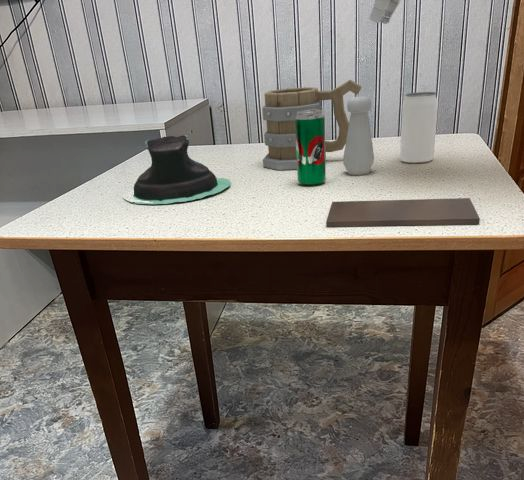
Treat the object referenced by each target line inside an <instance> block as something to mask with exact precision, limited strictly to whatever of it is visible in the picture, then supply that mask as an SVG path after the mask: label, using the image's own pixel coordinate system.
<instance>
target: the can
mask: <svg viewBox="0 0 524 480" xmlns="http://www.w3.org/2000/svg"><path fill="white" fill-rule="evenodd" d="M438 108H439V101H438V98H437V92H435V91H418V92H417V91H416V92H409V93H406V94H405V98H404V100H403V102H402V107H401V125H400V127H401V128H400V151H399V160H400V161H401V162H402V163H405V164H425V163H430V162H432V160H433V159H434V157H435V149H436V148H435V146H436V135H437V134H436V133H437V122H438Z"/></svg>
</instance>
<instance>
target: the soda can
mask: <svg viewBox="0 0 524 480" xmlns="http://www.w3.org/2000/svg"><path fill="white" fill-rule="evenodd" d="M325 119H326V117H325V115H324V114H323V109H322V110H317V109H315V110H303V111H298V112H297V116H296V118H295V136H296V157H297V169H296V174H297V176H296V177H297V182H298V184H300V185H301V186H304V187H314V186H315V187H316V186H320V185H323V184H324V183H325V181H326V179H327V173H326V171H327V169H326V168H327V167H326V159H325V141H326V127H325V126H326V125H325V124H326V122H325Z"/></svg>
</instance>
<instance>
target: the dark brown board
mask: <svg viewBox="0 0 524 480" xmlns="http://www.w3.org/2000/svg"><path fill="white" fill-rule="evenodd" d="M480 221H481V218H480V216H479V214H478V212H477V210H476V208H475V205H474V204H473V202H472V200H471V198H470V197H462V198H461V197H460V198H459V197H458V198H457V197H456V198H424V199H423V198H422V199H421V198H419V199H385V200H384V199H383V200H382V199H381V200H380V199H379V200H348V201H347V200H346V201H345V200H344V201H332V202H331V205H330V208H329V212H328V214H327V218H326V221H325V227H327V228H338V227H339V228H344V227H345V228H348V227H398V226H399V227H400V226H401V227H403V226H404V227H405V226H409V227H410V226H459V225H461V226H463V225H464V226H465V225H469V226H471V225H480Z"/></svg>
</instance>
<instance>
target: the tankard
mask: <svg viewBox="0 0 524 480" xmlns="http://www.w3.org/2000/svg"><path fill="white" fill-rule="evenodd" d="M362 87H363V86H362V85H361V84H359V83H357V82H356V81H354V80H352V79H349V80H347V81H345V82H344V83H342V84H341V85H339V86H337V87H334V88H333V89H331V90H319V88H318V87H314V86H313V87H309V86H308V87H307V86H306V87H305V86H304V87H303V86H302V87H290V88H289V87H288V88H279V89H274V90H268V91H267V92H265V93H264V106H262V119H263V121H266V131H265V133H264V134H263V135H264V145H265V146H266V147H267V150H268V153H267V154H266V155H265V156H264V158H263V159H262V167H263V168H266V169H271V170H275V171H294V170H295V171H297V157H296V136H295V118H296V116H297V112H298V111H303V110H315V109H317V110H322V111H323V107H322V101H329V100H331V101H332V109H333V110H332V111H333V115H334V117H335V121H336V123H337V125H338V136H337V139H335V140H332V141H329V140H325V160H326V159H327V153H333V152H339V151H343V150H344V149H345V145H346V139H347V133H348V127H349V119H348V116H347V113H346V110H345V103H344V95H346V94H347V93H349V92H351V93H353V94H354V95H359V93H360V92H361V89H362Z"/></svg>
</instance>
